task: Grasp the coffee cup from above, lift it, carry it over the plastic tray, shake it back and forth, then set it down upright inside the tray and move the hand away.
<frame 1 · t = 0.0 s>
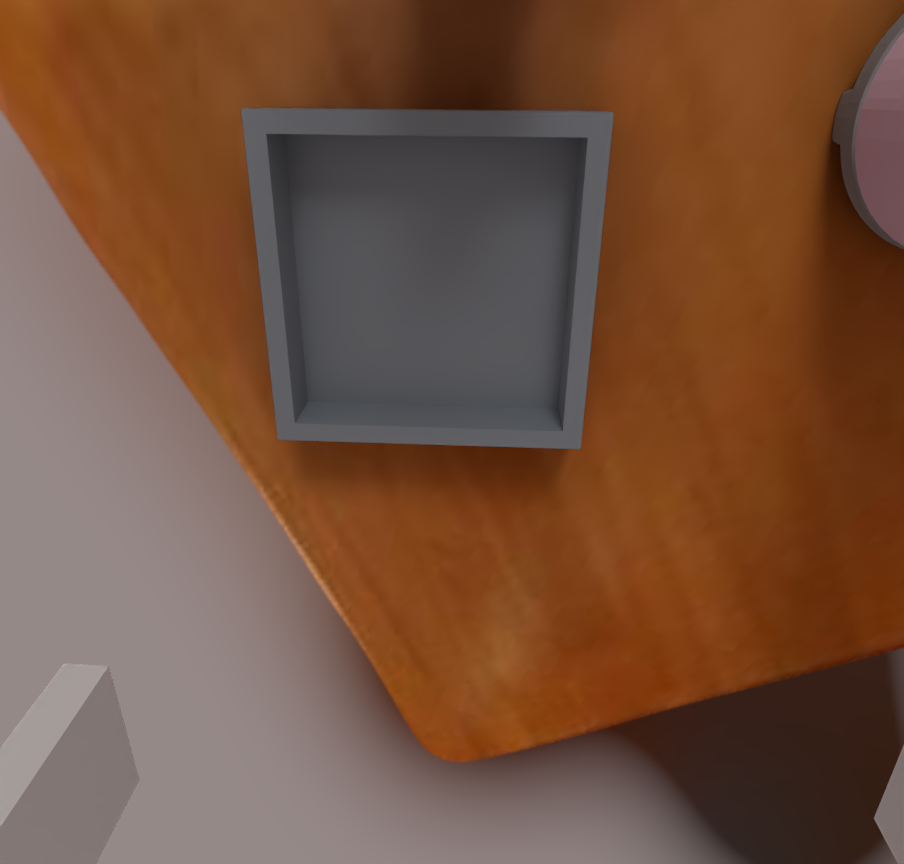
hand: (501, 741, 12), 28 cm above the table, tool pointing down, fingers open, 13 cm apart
tray: (432, 277, 37), on the table
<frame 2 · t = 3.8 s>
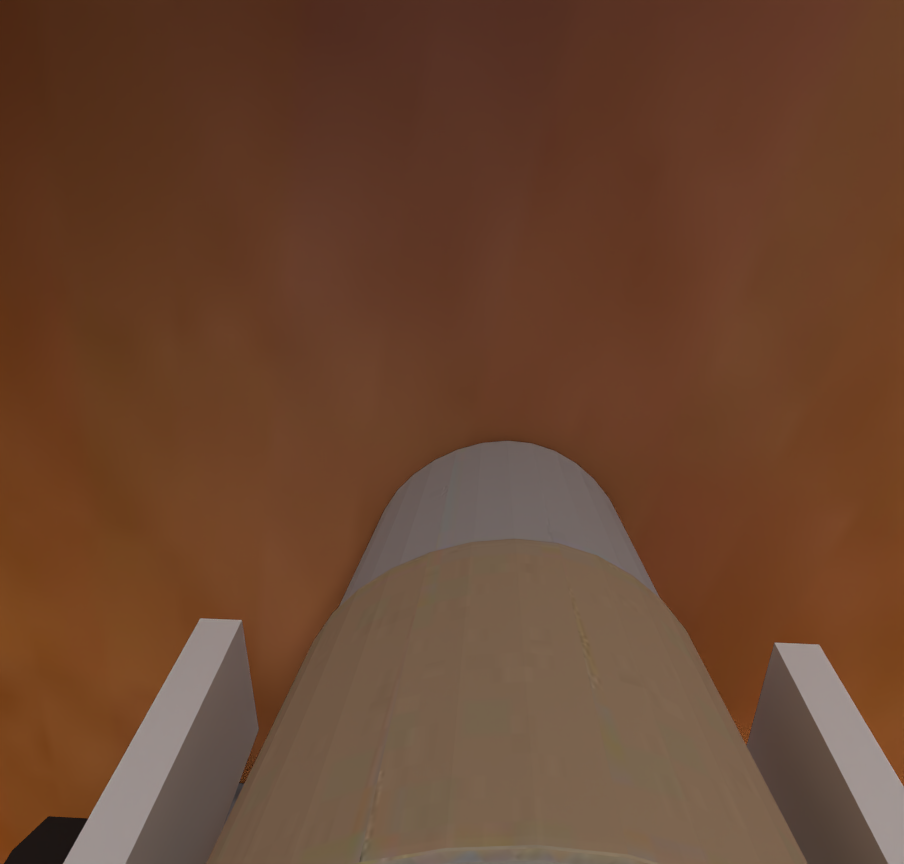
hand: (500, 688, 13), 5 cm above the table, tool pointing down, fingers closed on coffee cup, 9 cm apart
coffee cup: (498, 539, 17), on the table, touching gripper
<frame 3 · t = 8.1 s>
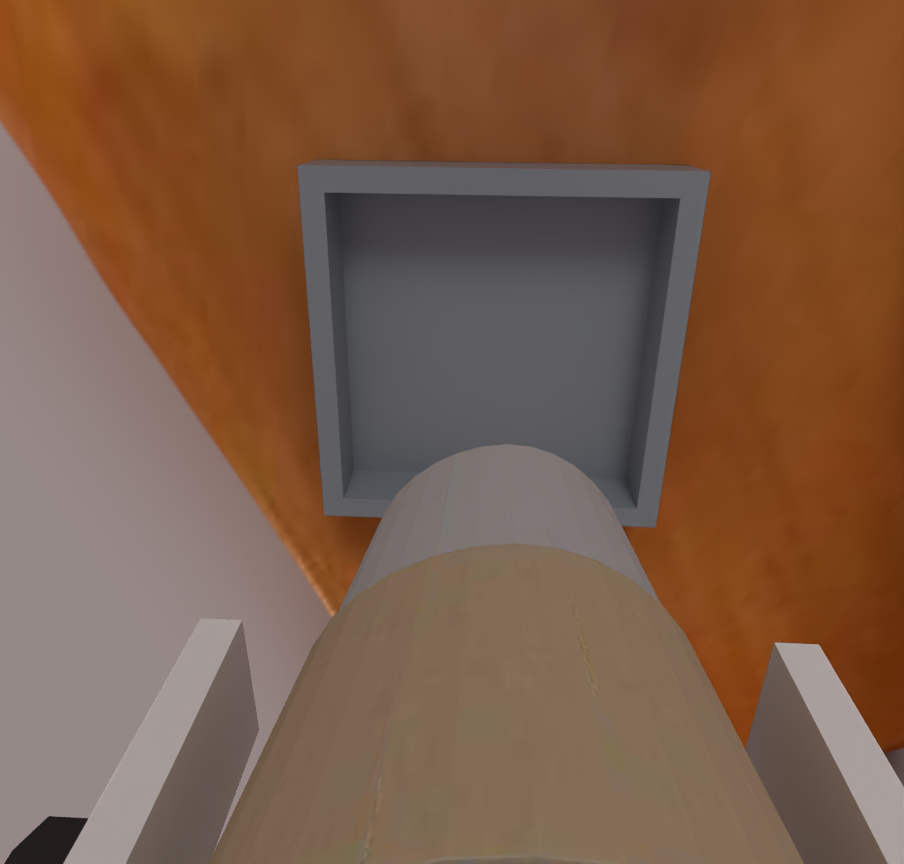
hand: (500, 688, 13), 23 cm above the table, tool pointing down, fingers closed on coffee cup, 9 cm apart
coffee cup: (498, 542, 17), point 18 cm above the table, touching gripper
tray: (493, 340, 34), on the table
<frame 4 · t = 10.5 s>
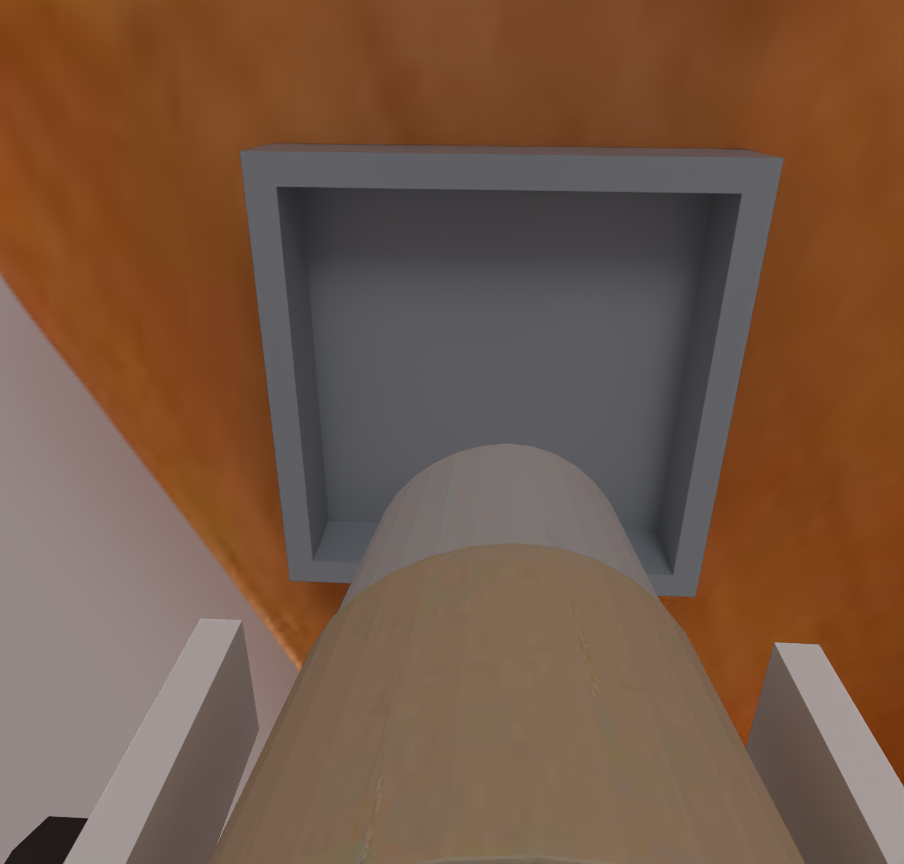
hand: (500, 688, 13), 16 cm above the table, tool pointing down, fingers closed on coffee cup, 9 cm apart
coffee cup: (498, 542, 17), point 12 cm above the table, touching gripper
tray: (496, 367, 27), on the table
when the fingers open (6 cm above the table, at t = 12.4 s): coffee cup drops 1 cm, resting on tray.
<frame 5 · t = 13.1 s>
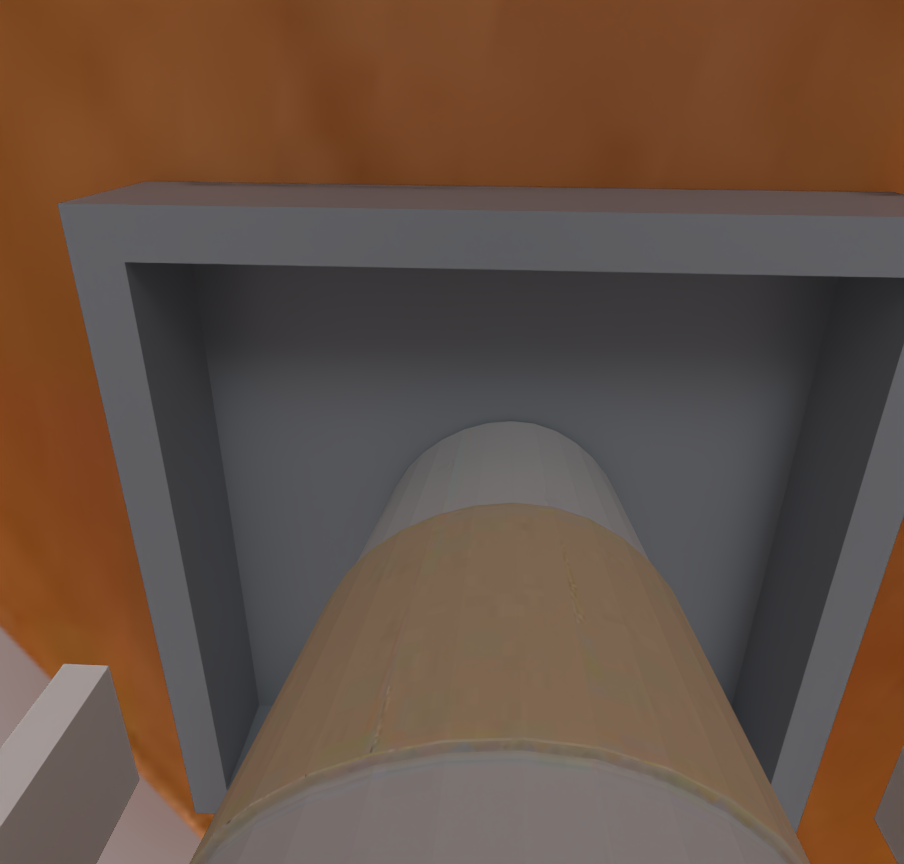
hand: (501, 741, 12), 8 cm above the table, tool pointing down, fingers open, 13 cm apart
coffee cup: (503, 516, 18), resting on tray
tray: (498, 505, 18), on the table
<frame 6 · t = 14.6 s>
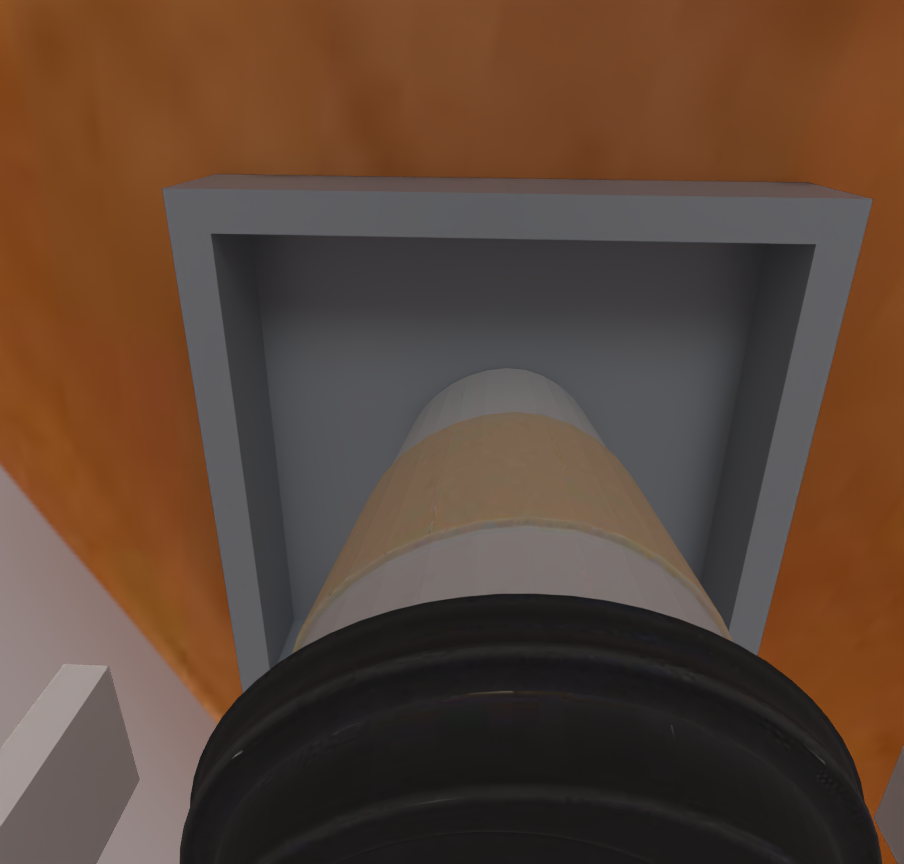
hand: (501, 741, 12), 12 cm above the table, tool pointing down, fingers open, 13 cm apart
coffee cup: (500, 450, 22), resting on tray
tray: (496, 443, 22), on the table
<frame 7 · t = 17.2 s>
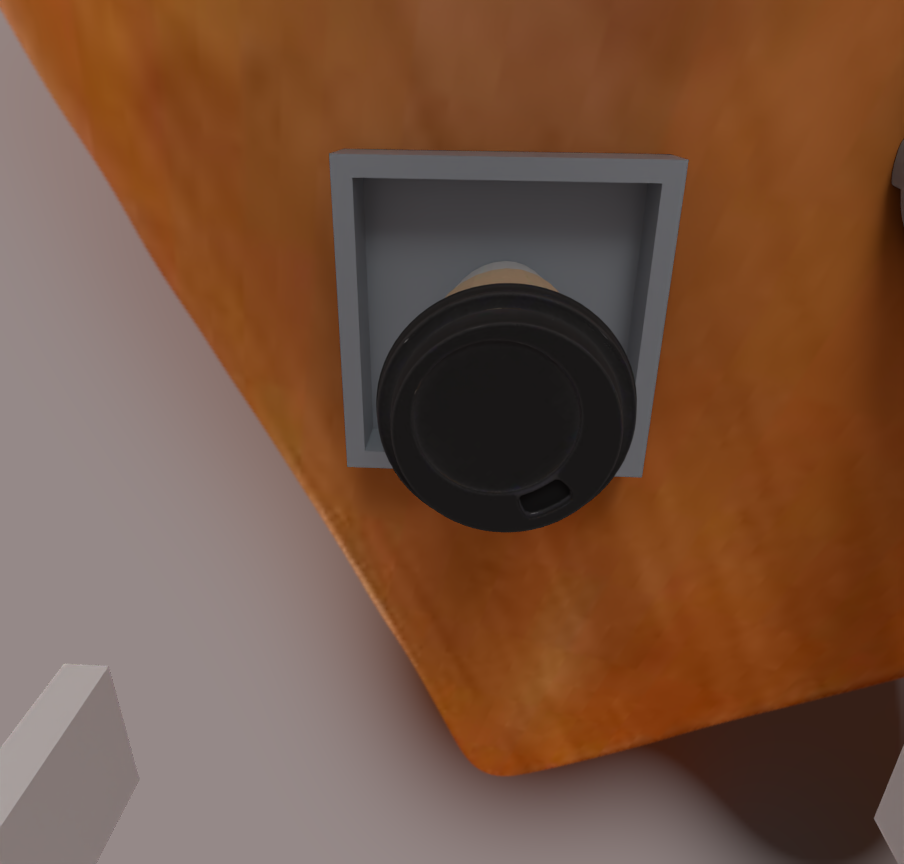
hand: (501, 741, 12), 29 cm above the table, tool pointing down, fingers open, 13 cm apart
coffee cup: (501, 313, 37), resting on tray
tray: (498, 310, 38), on the table
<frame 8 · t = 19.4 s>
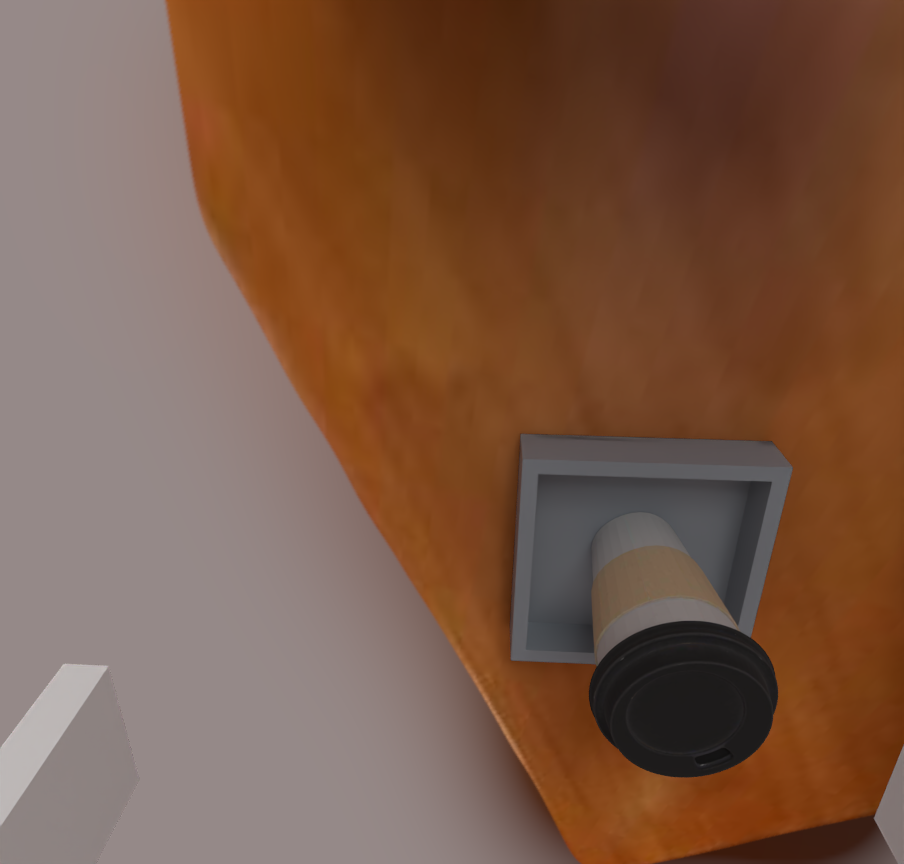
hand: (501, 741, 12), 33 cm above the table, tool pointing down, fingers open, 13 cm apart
coffee cup: (633, 545, 48), resting on tray
tray: (630, 541, 49), on the table
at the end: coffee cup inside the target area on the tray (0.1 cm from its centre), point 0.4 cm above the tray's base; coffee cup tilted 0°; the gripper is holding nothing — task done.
